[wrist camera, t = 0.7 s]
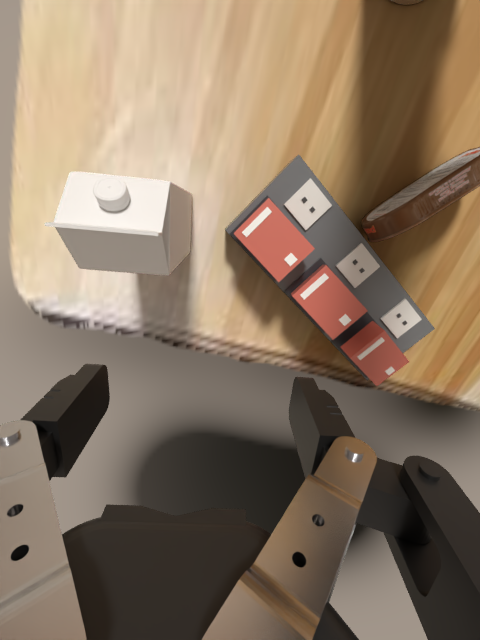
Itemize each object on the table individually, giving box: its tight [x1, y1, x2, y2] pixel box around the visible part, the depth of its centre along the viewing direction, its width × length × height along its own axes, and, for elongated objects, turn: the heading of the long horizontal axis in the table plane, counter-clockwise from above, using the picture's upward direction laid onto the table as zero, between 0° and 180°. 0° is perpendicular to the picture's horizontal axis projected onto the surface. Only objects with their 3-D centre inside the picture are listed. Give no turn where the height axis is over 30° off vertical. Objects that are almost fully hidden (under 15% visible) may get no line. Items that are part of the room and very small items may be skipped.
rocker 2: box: [291, 265, 368, 340], centre depth 34 cm, size 5×7×2 cm
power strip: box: [225, 155, 435, 380], centre depth 38 cm, size 11×28×5 cm, turn 44°
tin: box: [361, 147, 480, 242], centre depth 33 cm, size 15×3×8 cm, turn 124°
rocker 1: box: [234, 198, 315, 282], centre depth 32 cm, size 5×7×2 cm
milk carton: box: [45, 172, 192, 276], centre depth 28 cm, size 7×7×19 cm
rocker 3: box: [341, 321, 409, 386], centre depth 37 cm, size 5×7×2 cm
